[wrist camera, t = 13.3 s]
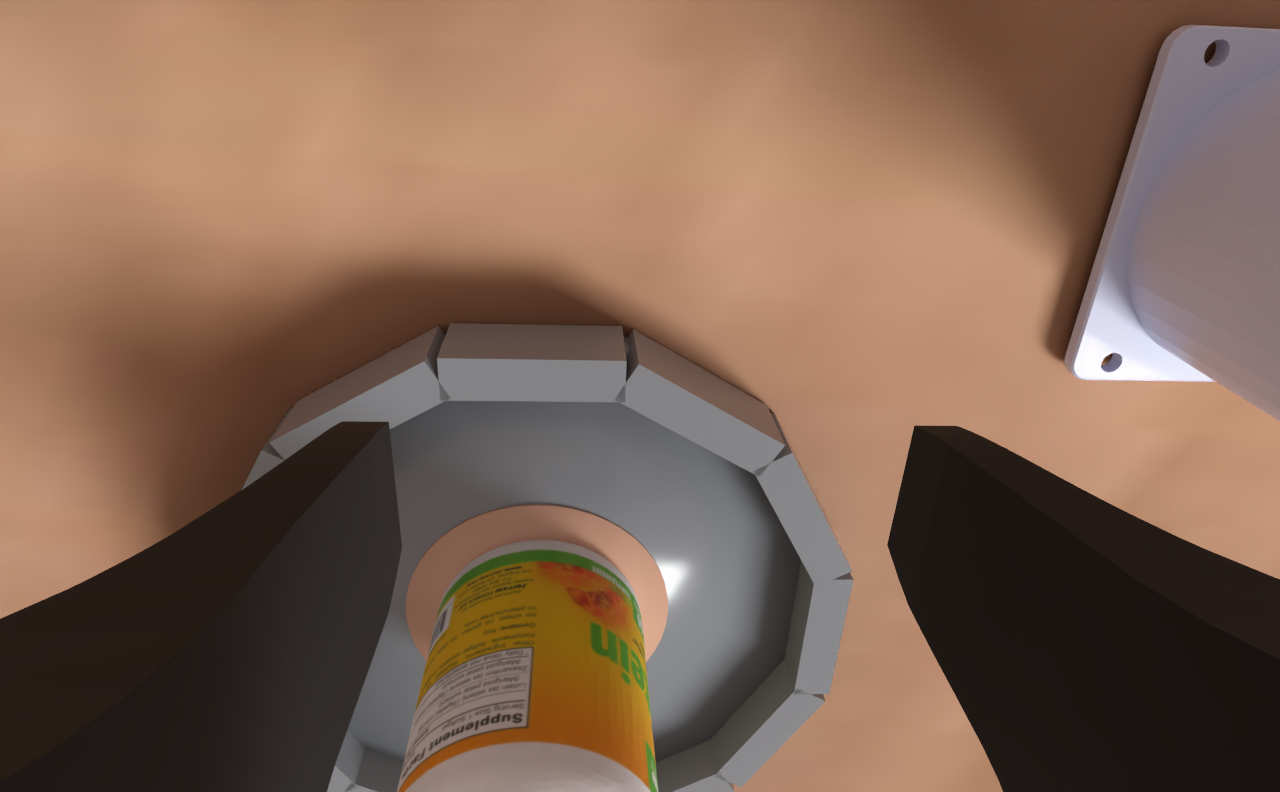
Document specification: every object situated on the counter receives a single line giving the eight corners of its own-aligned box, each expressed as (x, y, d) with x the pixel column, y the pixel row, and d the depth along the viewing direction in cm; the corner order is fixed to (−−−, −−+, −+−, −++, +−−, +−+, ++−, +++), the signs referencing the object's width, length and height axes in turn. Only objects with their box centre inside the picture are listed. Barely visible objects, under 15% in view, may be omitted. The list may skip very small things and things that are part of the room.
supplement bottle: (671, 646, 23) (729, 1056, 14) (499, 711, 23) (451, 1140, 15) (589, 502, 20) (597, 888, 12) (400, 579, 21) (274, 998, 12)
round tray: (869, 330, 20) (898, 364, 18) (784, 778, 27) (799, 834, 25) (180, 318, 18) (138, 353, 16) (287, 792, 25) (265, 853, 24)
